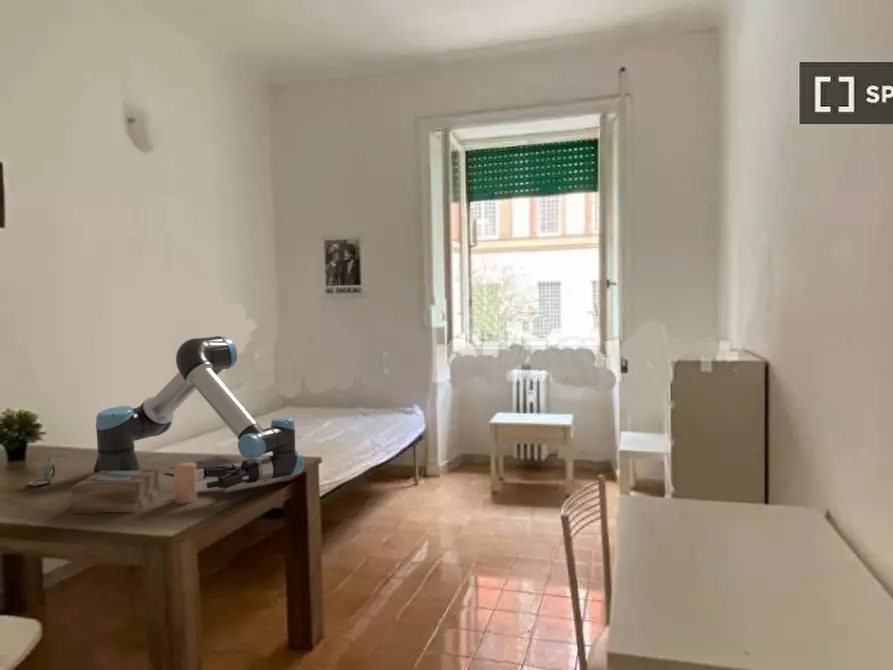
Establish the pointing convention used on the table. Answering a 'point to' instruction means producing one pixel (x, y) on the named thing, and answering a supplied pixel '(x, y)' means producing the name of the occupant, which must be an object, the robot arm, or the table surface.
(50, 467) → the pocket watch
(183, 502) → the terracotta cylinder
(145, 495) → the walnut box
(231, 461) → the picture frame
